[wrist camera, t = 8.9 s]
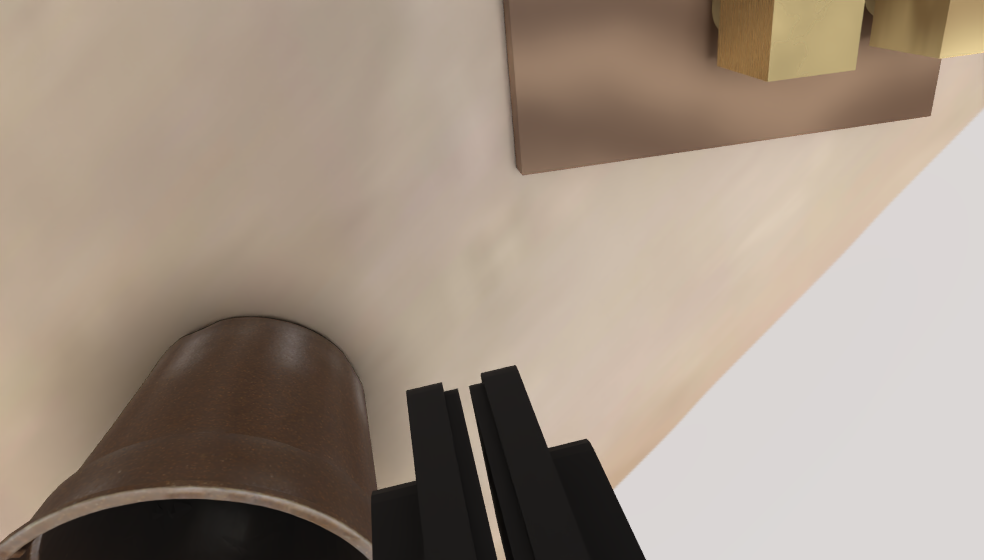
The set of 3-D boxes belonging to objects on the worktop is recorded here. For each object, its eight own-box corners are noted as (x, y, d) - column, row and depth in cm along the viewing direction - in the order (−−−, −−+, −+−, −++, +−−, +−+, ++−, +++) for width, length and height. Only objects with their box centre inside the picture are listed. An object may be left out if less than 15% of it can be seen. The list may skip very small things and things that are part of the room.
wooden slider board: (492, -140, 30) (529, -166, 23) (962, -183, 33) (1119, -218, 26) (516, 167, 36) (552, 215, 30) (911, 110, 39) (1026, 143, 32)
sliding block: (710, -50, 32) (778, -50, 27) (790, -59, 32) (873, -61, 27) (705, 62, 34) (767, 81, 29) (780, 52, 34) (855, 69, 29)
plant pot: (99, 504, 41) (-42, 801, 27) (104, 258, 35) (-75, 473, 20) (372, 519, 45) (378, 783, 31) (420, 302, 39) (455, 505, 25)
